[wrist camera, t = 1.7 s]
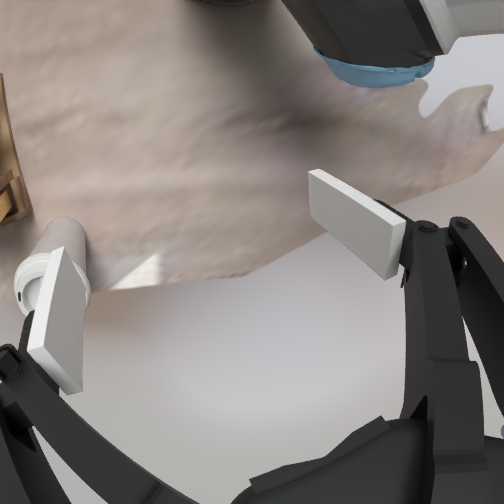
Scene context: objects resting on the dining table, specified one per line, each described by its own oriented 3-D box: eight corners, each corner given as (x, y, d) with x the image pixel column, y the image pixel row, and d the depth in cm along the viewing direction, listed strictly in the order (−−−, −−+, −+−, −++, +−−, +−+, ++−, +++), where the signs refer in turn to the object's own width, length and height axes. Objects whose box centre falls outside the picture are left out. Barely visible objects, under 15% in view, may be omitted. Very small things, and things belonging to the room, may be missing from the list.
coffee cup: (54, 194, 36) (27, 246, 24) (107, 228, 41) (105, 290, 30) (26, 246, 37) (0, 311, 25) (77, 275, 43) (70, 345, 31)
